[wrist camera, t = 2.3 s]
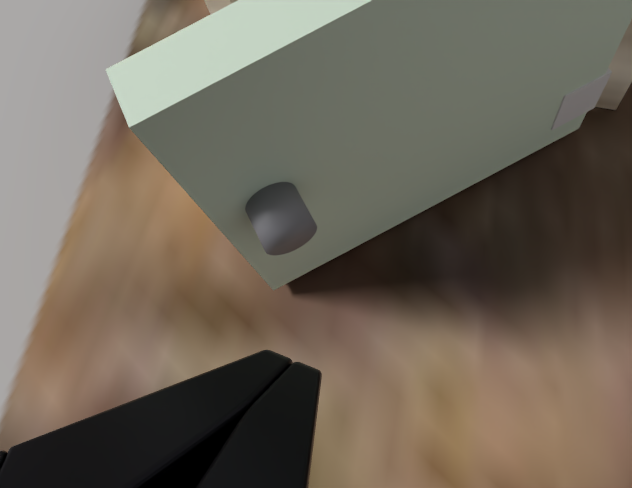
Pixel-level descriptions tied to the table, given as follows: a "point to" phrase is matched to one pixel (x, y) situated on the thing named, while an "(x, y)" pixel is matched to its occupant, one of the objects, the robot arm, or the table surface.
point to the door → (358, 109)
